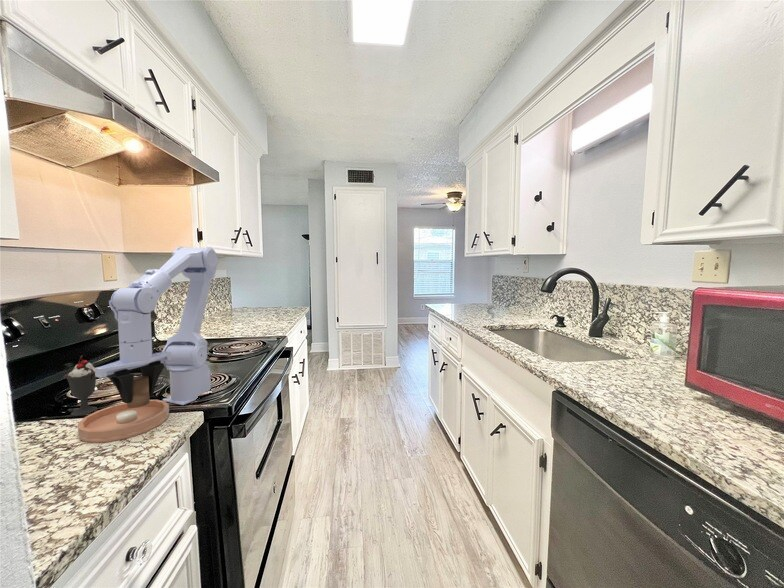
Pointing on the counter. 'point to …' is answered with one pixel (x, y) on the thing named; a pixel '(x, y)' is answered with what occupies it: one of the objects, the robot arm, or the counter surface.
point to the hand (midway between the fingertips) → (138, 398)
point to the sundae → (82, 385)
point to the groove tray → (112, 423)
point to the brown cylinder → (140, 392)
